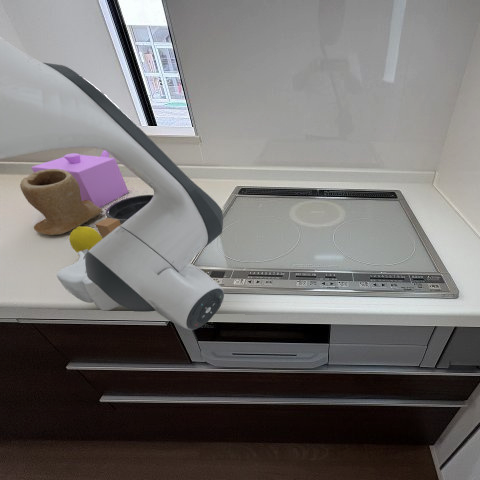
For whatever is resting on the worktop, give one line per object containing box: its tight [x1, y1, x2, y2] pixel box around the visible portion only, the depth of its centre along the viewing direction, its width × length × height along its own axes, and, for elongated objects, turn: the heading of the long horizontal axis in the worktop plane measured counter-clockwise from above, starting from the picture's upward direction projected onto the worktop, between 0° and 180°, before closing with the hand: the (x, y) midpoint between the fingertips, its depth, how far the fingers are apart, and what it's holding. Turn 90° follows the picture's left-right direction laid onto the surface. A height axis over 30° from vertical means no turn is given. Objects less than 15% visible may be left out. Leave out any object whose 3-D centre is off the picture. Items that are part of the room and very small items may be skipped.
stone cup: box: [19, 169, 104, 236], centre depth 69 cm, size 15×12×15 cm
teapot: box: [30, 150, 129, 208], centre depth 83 cm, size 15×25×14 cm, turn 171°
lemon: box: [68, 225, 102, 254], centre depth 60 cm, size 6×6×8 cm
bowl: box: [105, 194, 154, 224], centre depth 75 cm, size 15×15×4 cm
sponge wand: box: [95, 217, 121, 239], centre depth 53 cm, size 5×4×14 cm
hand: (111, 241), depth 52 cm, fingers open, 8 cm apart
